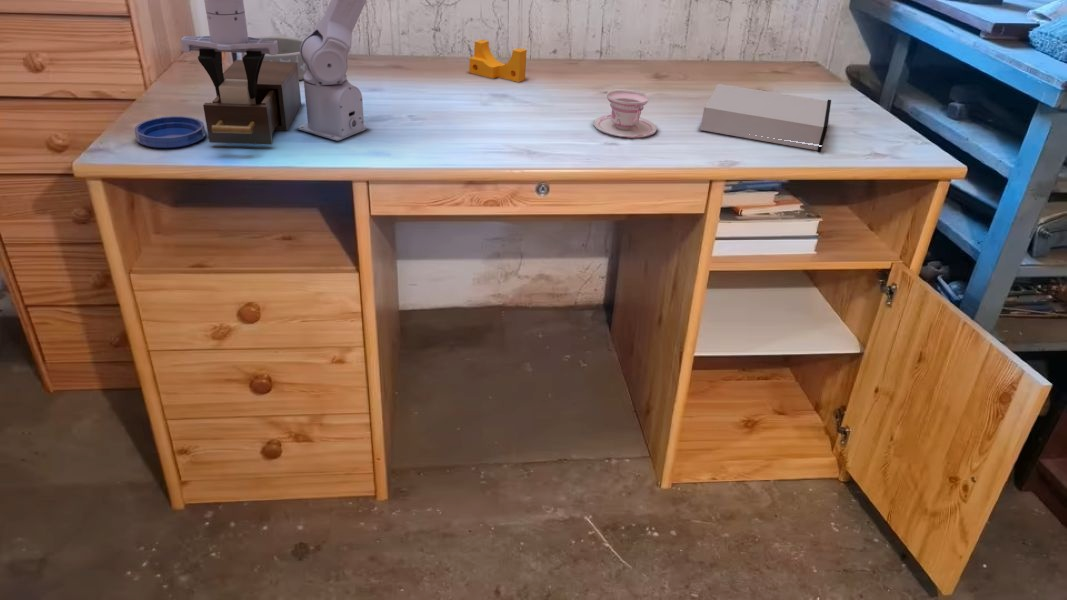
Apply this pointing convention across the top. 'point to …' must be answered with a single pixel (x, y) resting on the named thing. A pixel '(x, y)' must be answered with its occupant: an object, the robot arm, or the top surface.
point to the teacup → (626, 115)
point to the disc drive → (767, 116)
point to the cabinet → (274, 85)
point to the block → (235, 92)
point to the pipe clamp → (497, 63)
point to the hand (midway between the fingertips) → (237, 96)
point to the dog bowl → (287, 52)
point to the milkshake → (230, 58)
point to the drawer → (243, 119)
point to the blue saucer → (170, 132)
